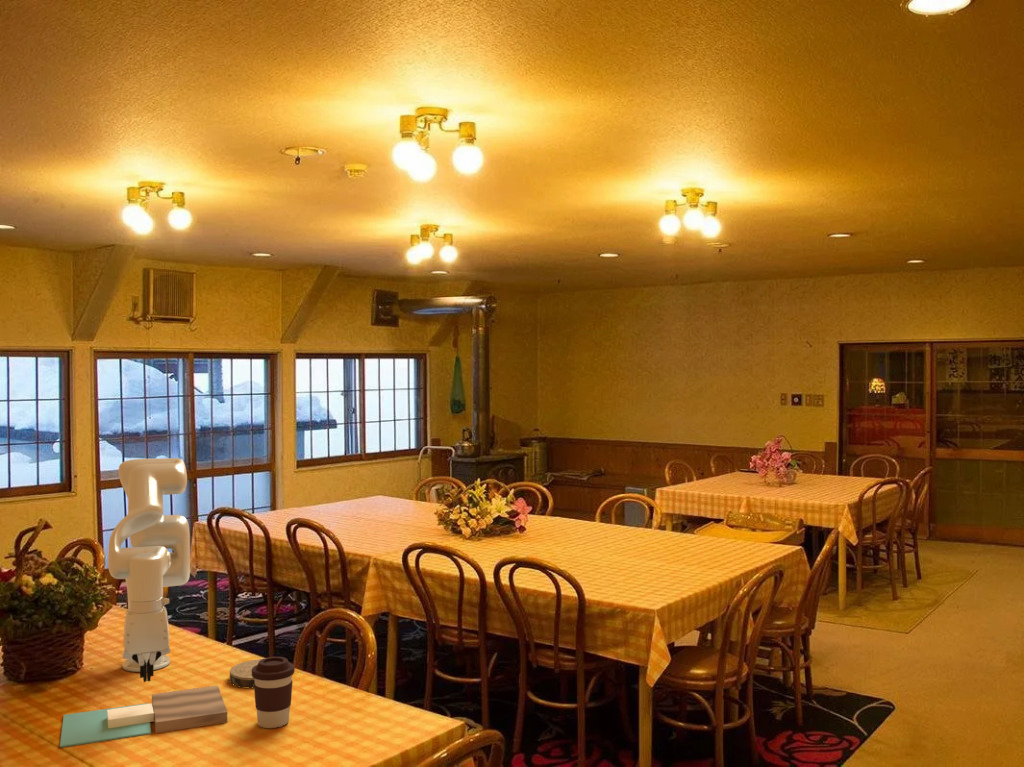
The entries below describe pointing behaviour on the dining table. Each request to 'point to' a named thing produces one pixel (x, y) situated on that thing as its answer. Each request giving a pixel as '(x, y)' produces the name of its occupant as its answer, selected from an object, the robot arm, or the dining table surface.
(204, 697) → the panel
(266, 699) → the coffee cup
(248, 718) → the dining table surface
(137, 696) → the dining table surface
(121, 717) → the cream foam board
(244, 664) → the wood slice coaster
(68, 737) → the mat
